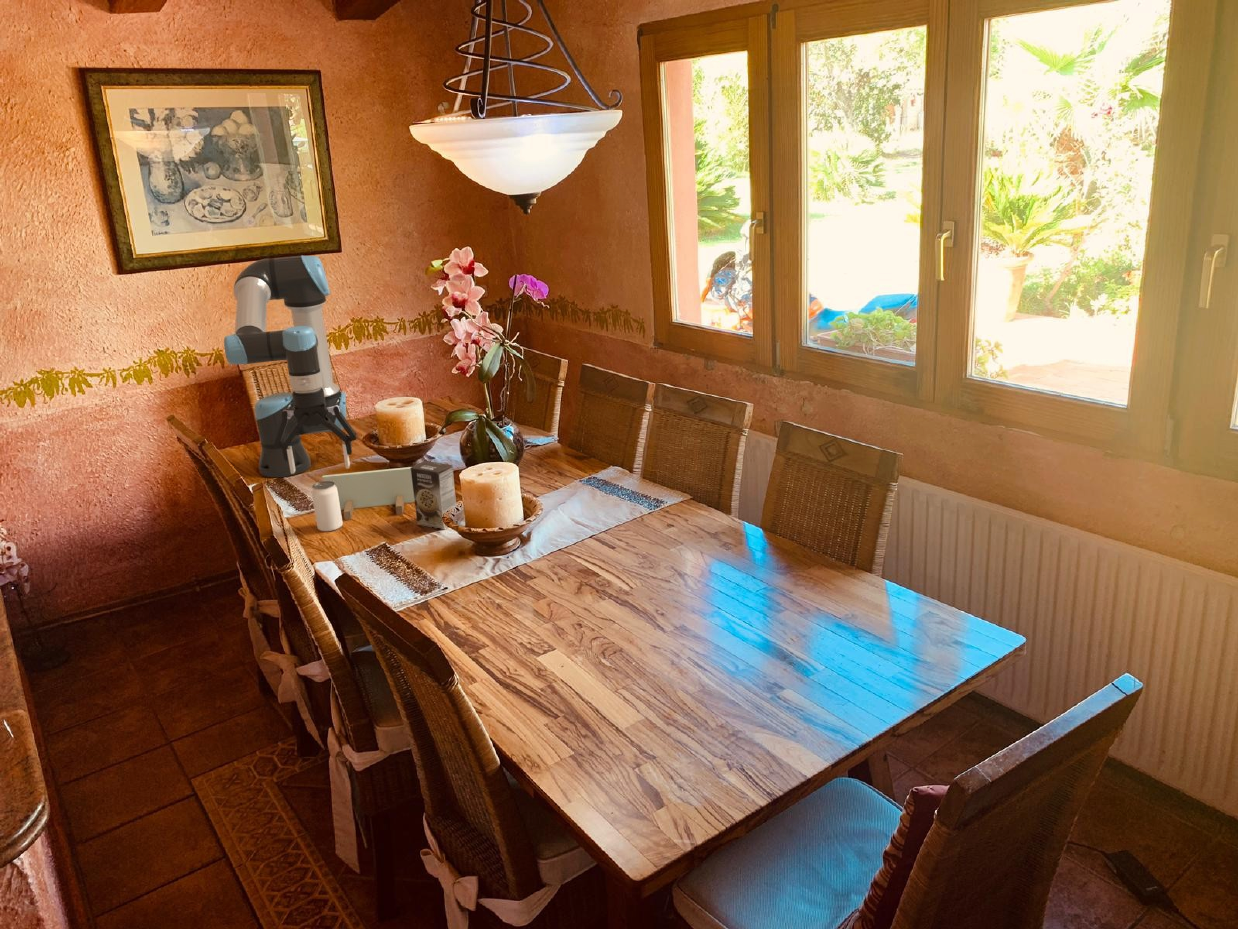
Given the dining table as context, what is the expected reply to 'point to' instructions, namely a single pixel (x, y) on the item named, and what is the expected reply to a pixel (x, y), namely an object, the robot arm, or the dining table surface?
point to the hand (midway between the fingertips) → (320, 469)
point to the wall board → (373, 489)
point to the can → (326, 506)
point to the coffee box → (433, 492)
